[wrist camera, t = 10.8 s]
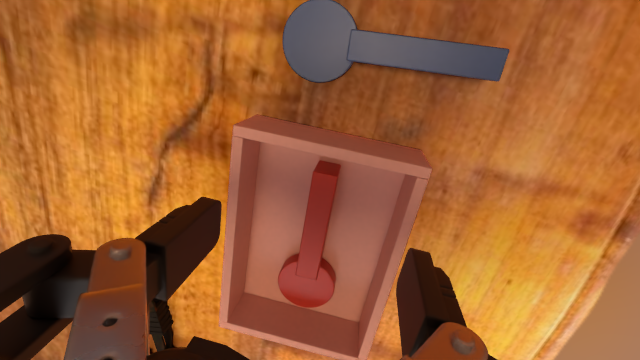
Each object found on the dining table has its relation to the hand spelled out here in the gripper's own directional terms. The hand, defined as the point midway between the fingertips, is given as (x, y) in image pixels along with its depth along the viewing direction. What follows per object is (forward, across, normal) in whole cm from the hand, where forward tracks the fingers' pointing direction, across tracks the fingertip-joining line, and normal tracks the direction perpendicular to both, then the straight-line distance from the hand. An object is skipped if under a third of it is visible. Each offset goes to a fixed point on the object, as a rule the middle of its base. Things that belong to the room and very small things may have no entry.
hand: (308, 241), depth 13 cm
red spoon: (+7, 0, +4) cm, 8 cm away
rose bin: (+7, 0, +4) cm, 8 cm away
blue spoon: (+7, -2, -8) cm, 11 cm away
